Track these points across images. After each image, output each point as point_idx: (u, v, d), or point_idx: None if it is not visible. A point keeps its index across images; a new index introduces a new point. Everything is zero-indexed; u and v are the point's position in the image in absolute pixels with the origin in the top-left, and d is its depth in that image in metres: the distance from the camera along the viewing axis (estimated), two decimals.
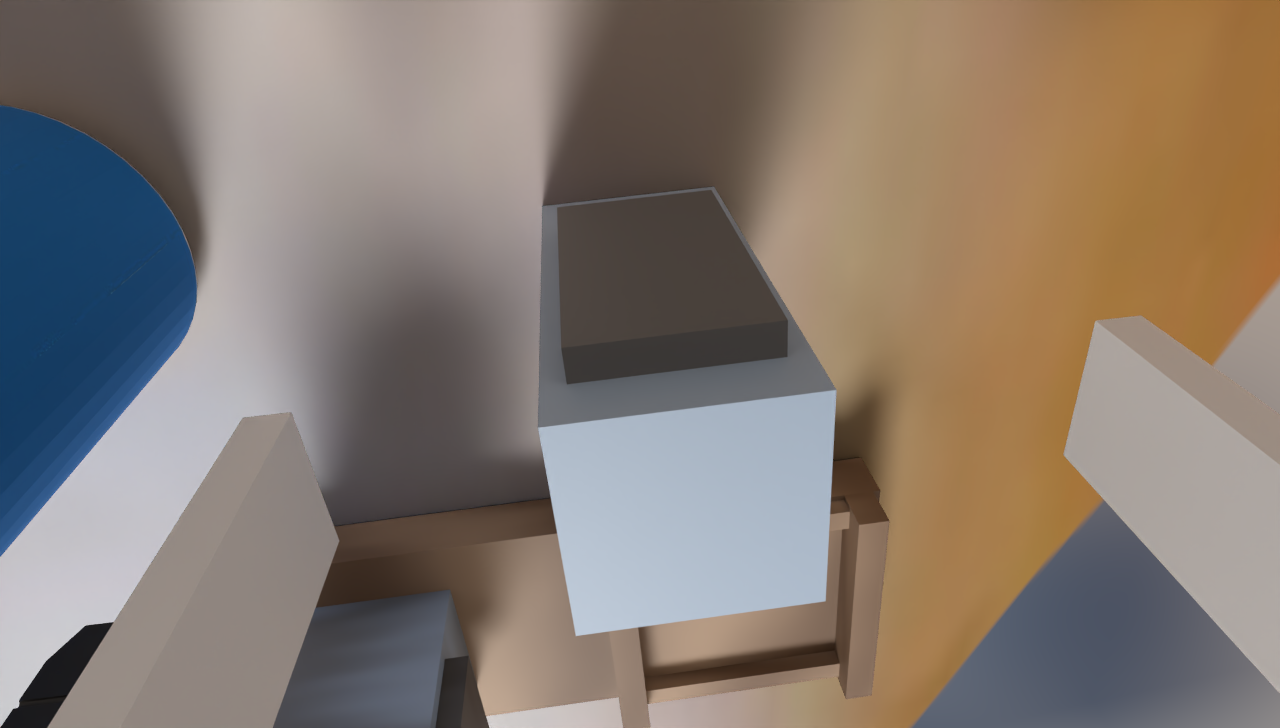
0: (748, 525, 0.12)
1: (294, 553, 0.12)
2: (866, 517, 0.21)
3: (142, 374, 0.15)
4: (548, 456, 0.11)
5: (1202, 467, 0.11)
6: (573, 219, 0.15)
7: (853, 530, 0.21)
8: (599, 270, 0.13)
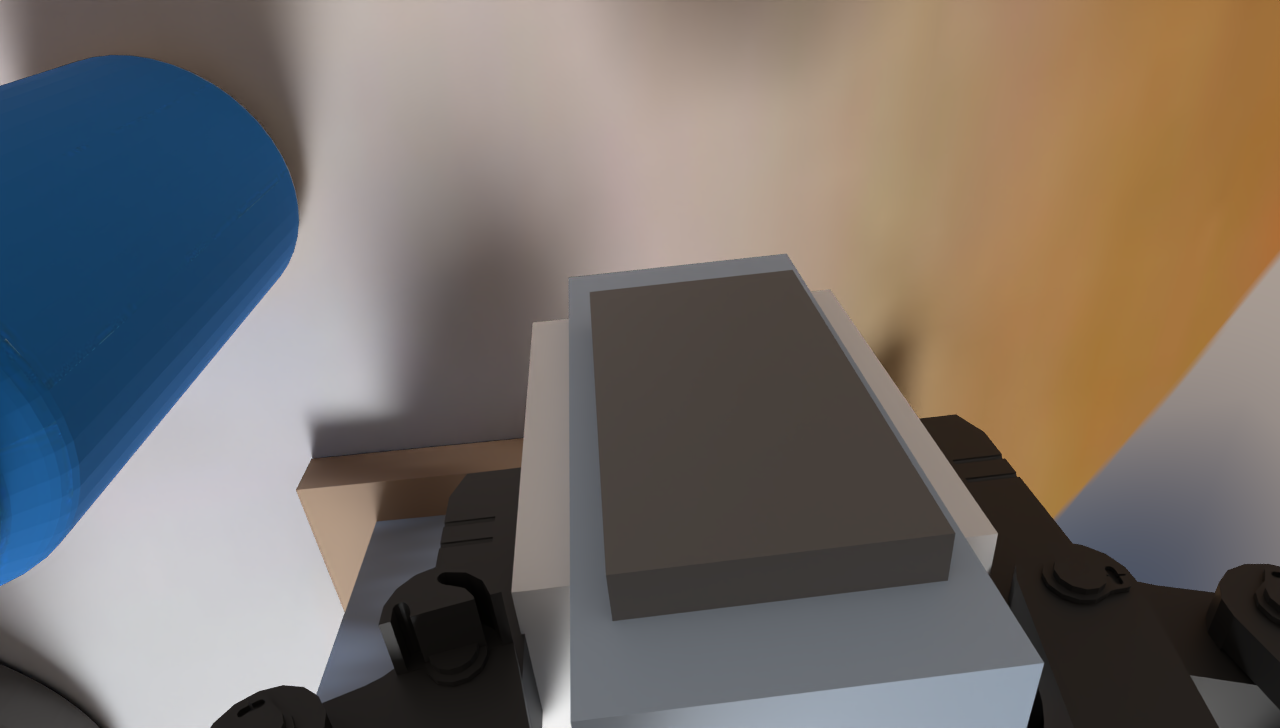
0: None
1: None
2: None
3: (257, 292, 0.18)
4: None
5: None
6: (612, 314, 0.12)
7: None
8: (654, 411, 0.09)
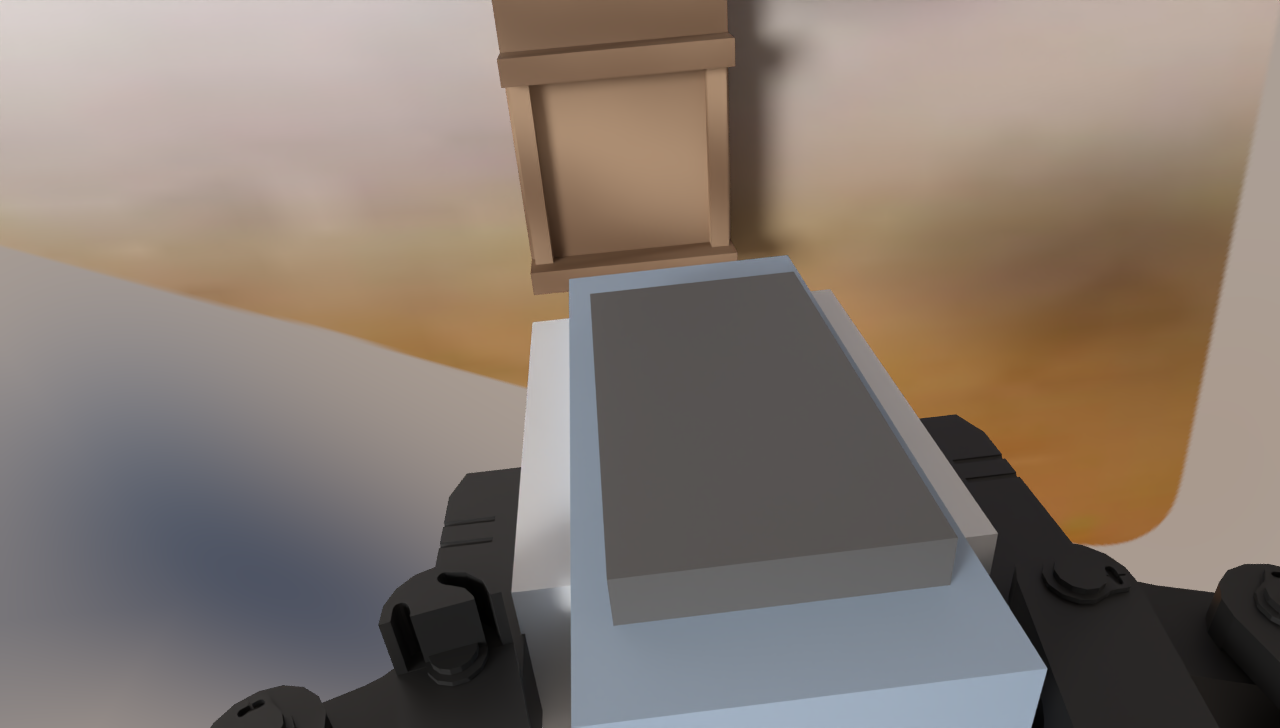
0: None
1: None
2: (736, 257, 0.27)
3: None
4: None
5: None
6: (613, 316, 0.11)
7: (720, 250, 0.27)
8: (655, 414, 0.09)
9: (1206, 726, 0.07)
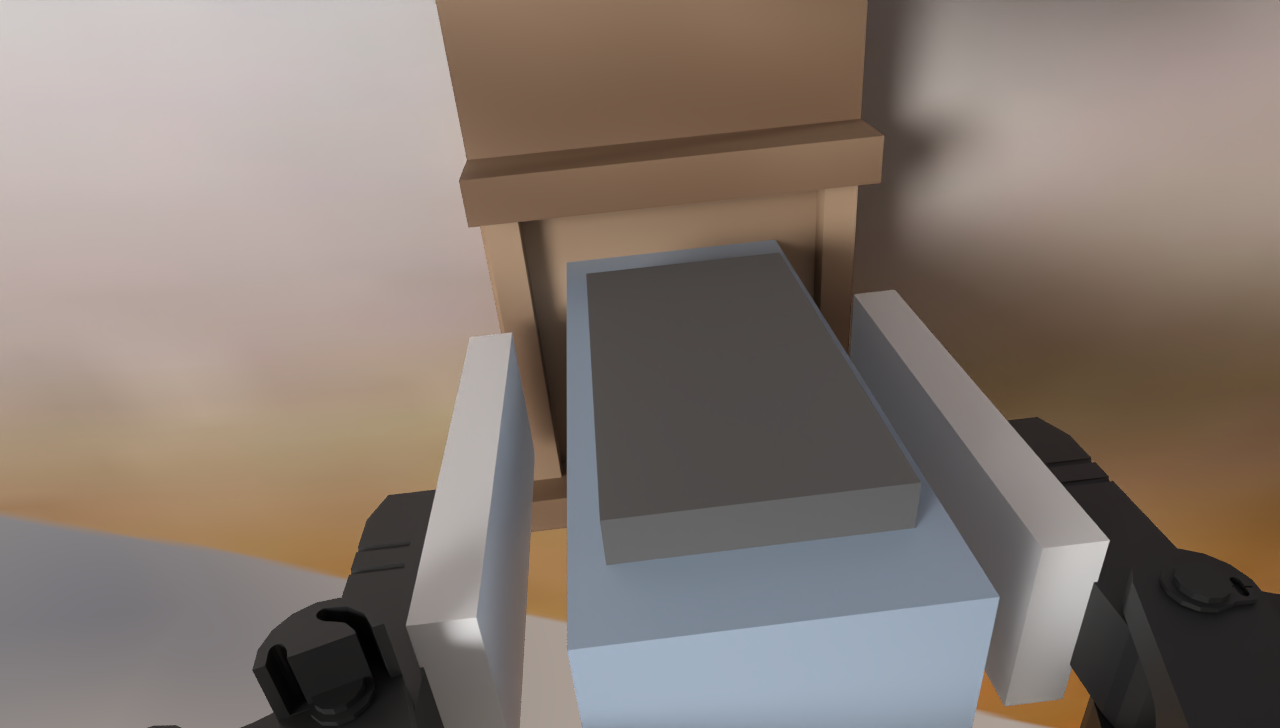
0: None
1: (522, 453, 0.14)
2: None
3: None
4: (581, 682, 0.07)
5: (908, 418, 0.12)
6: (607, 293, 0.12)
7: None
8: (645, 379, 0.10)
9: None
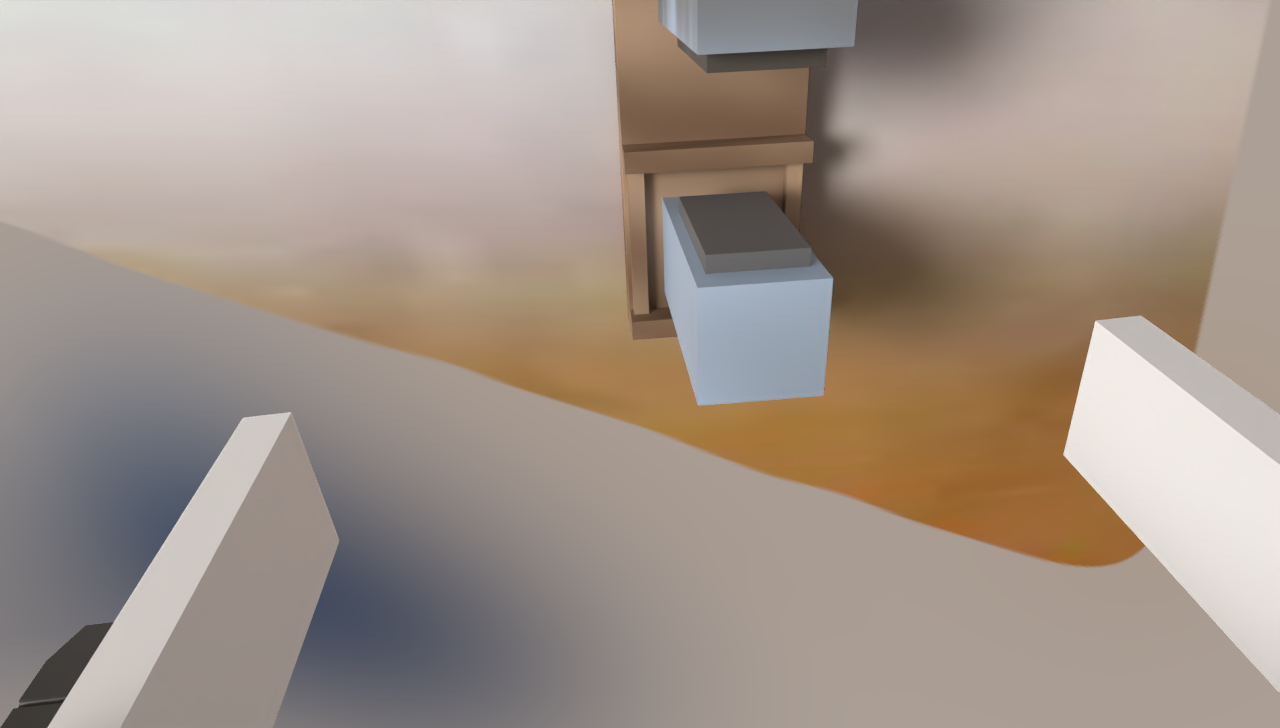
0: (788, 347, 0.24)
1: (294, 553, 0.12)
2: None
3: None
4: (699, 303, 0.23)
5: (1202, 467, 0.11)
6: (691, 203, 0.28)
7: None
8: (713, 226, 0.26)
9: None
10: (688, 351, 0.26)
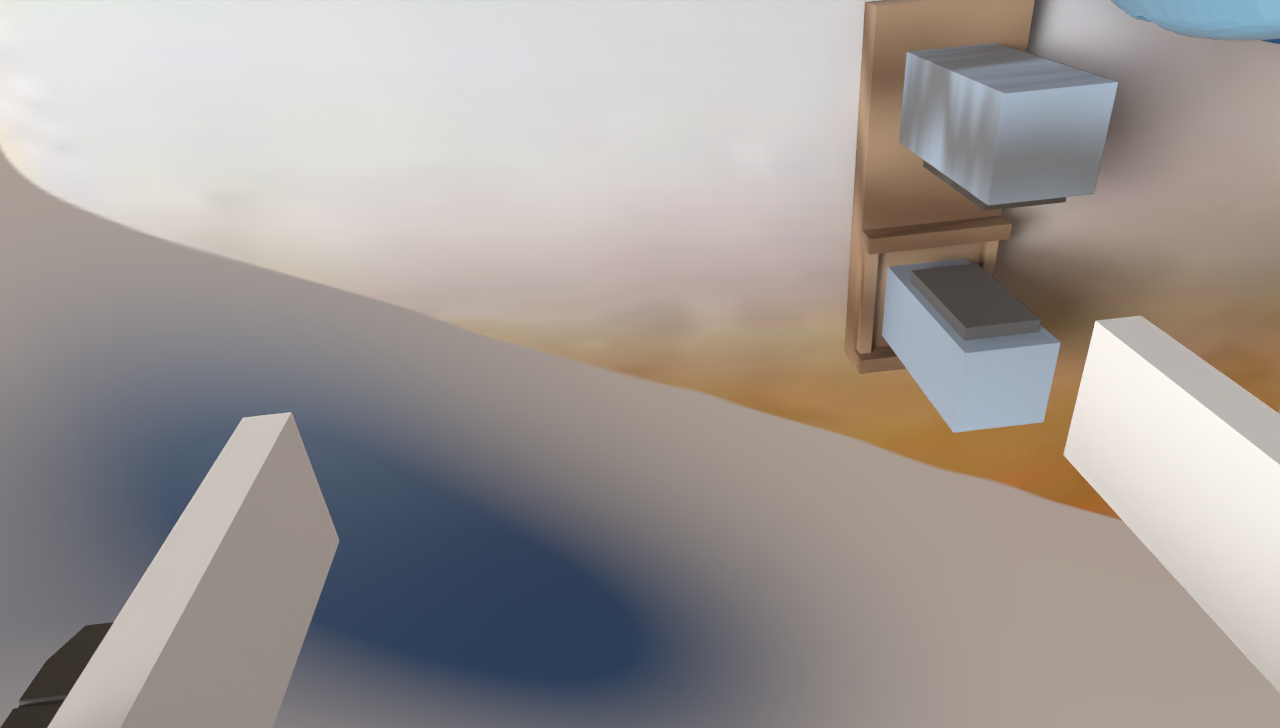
0: (1023, 390, 0.33)
1: (294, 553, 0.12)
2: None
3: None
4: (965, 363, 0.33)
5: (1202, 467, 0.11)
6: (924, 277, 0.37)
7: None
8: (956, 300, 0.35)
9: None
10: (936, 391, 0.36)
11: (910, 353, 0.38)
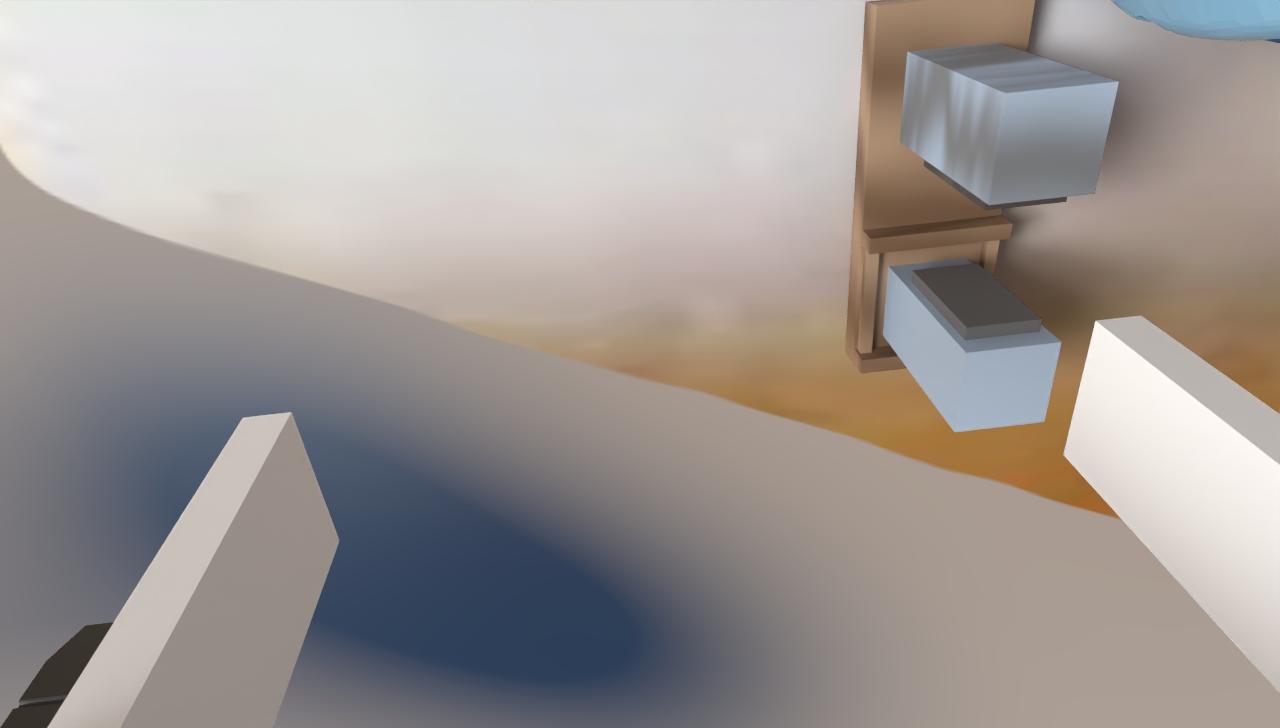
0: (1024, 390, 0.33)
1: (294, 553, 0.12)
2: None
3: None
4: (965, 363, 0.33)
5: (1201, 467, 0.11)
6: (925, 276, 0.37)
7: None
8: (957, 299, 0.35)
9: None
10: (937, 390, 0.36)
11: (911, 353, 0.38)
